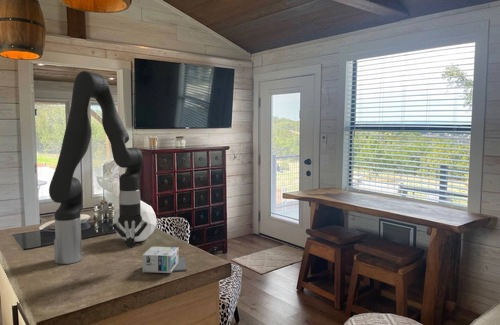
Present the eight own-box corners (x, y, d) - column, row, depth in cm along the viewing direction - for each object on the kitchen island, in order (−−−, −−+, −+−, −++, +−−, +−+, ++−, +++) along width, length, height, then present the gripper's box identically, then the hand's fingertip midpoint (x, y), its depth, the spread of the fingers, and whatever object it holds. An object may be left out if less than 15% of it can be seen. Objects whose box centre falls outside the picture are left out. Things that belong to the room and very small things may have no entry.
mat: (153, 273, 143) (153, 271, 143) (154, 260, 156) (154, 258, 156) (186, 270, 145) (186, 269, 145) (184, 258, 159) (184, 256, 159)
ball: (132, 258, 178) (109, 230, 166) (122, 233, 193) (101, 206, 181) (168, 235, 182) (149, 206, 170) (156, 213, 197) (138, 185, 185)
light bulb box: (142, 272, 141) (171, 273, 141) (141, 254, 141) (171, 255, 140) (151, 262, 152) (179, 263, 151) (151, 245, 151) (179, 246, 151)
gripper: (109, 204, 139) (110, 251, 141) (147, 203, 142) (148, 249, 144) (112, 200, 147) (113, 245, 148) (148, 199, 149) (149, 243, 151)
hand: (130, 247), depth 146 cm, fingers closed
